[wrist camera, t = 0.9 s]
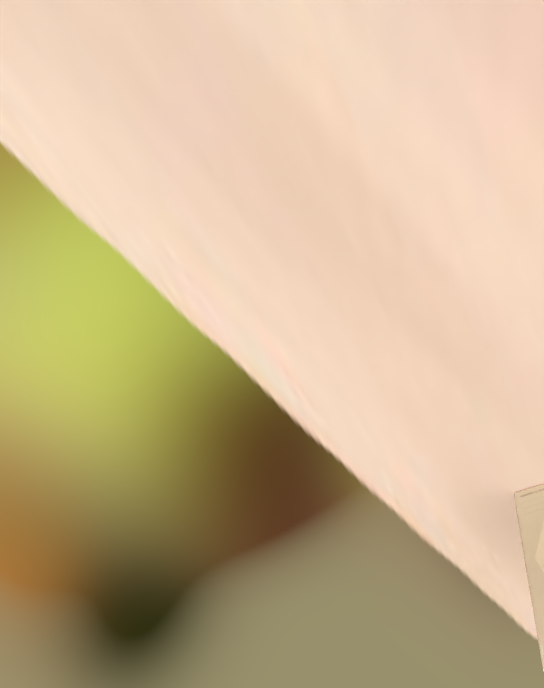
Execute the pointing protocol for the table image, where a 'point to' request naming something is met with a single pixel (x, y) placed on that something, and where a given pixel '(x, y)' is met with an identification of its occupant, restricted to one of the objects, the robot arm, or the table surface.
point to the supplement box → (533, 550)
